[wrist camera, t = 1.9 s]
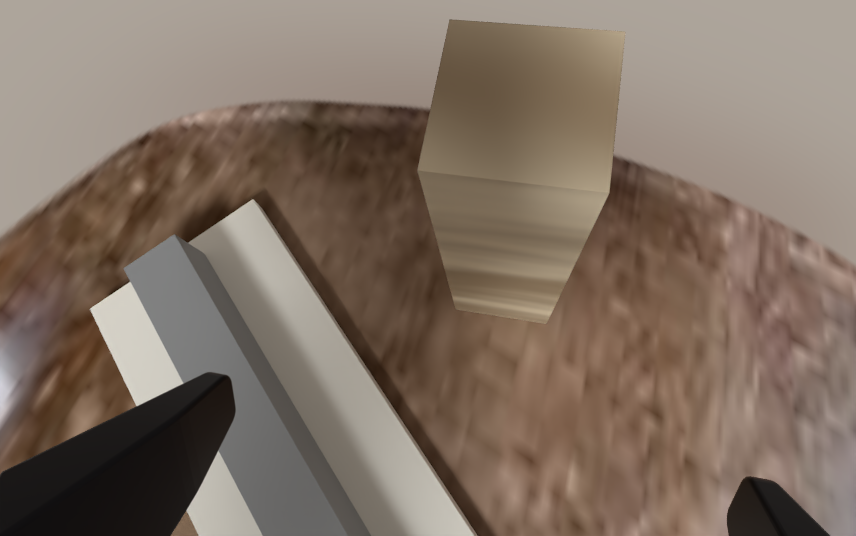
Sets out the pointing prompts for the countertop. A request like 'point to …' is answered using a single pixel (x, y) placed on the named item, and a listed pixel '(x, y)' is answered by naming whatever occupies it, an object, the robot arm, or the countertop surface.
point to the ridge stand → (273, 391)
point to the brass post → (519, 159)
